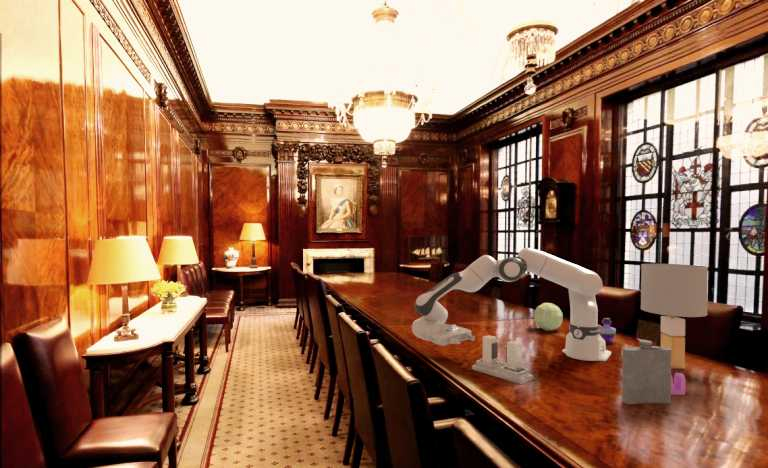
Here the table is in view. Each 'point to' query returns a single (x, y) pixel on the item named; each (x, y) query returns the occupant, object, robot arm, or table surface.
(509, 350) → the pillar on stepped tray
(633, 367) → the hip flask
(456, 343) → the robot arm
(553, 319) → the decorative sphere
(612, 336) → the potion bottle
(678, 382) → the bracket
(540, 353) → the table surface
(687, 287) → the lamp
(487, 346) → the loose rectangular block
